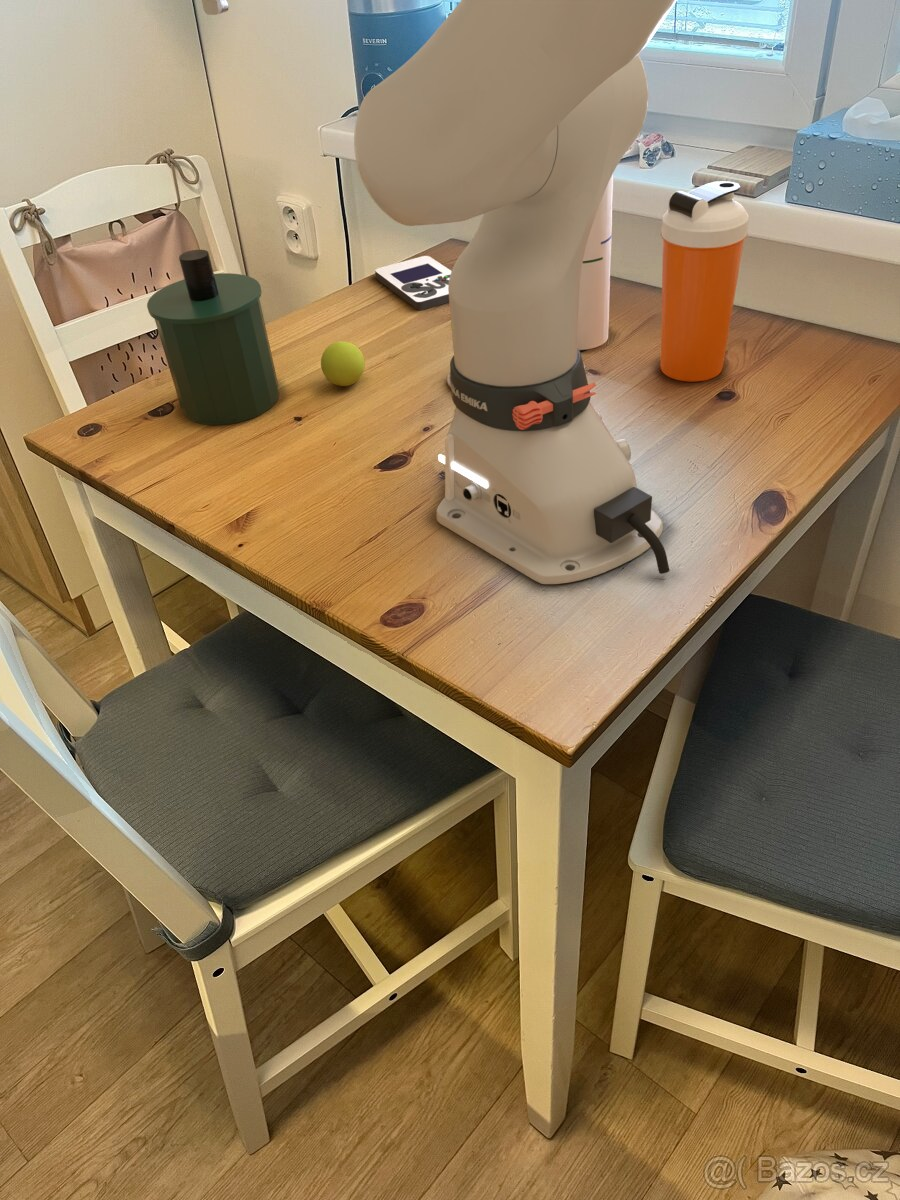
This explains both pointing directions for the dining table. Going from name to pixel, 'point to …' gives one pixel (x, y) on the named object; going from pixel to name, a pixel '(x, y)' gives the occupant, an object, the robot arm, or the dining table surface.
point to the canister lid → (203, 293)
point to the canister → (221, 367)
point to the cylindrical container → (596, 278)
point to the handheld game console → (417, 281)
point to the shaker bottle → (699, 278)
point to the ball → (342, 363)
